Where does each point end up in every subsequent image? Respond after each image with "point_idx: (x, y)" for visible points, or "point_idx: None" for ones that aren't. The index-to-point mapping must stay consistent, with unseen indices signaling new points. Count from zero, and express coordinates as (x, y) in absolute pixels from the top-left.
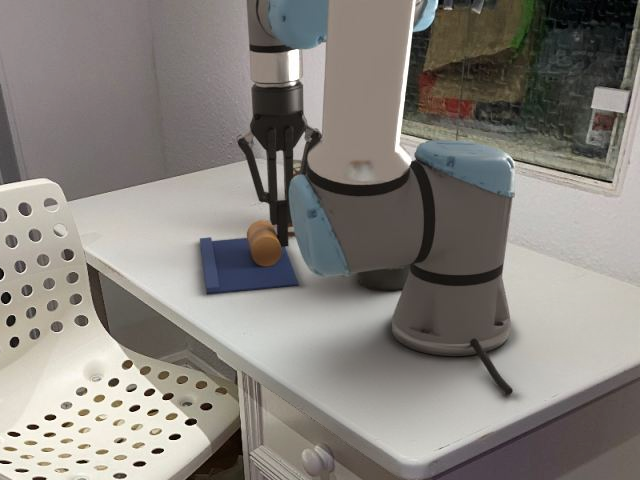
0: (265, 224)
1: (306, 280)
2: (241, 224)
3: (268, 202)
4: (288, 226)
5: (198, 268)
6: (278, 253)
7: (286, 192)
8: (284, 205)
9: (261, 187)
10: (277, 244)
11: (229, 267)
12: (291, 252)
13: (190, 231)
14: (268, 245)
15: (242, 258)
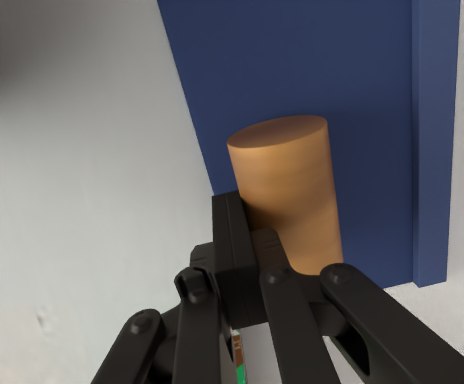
0: (293, 259)
1: (132, 21)
2: (341, 370)
3: (302, 277)
4: (233, 337)
5: (455, 120)
6: (235, 137)
7: (217, 320)
8: (226, 270)
9: (366, 316)
10: (240, 143)
11: (373, 114)
12: (212, 230)
13: (451, 334)
14: (271, 136)
15: (338, 178)
